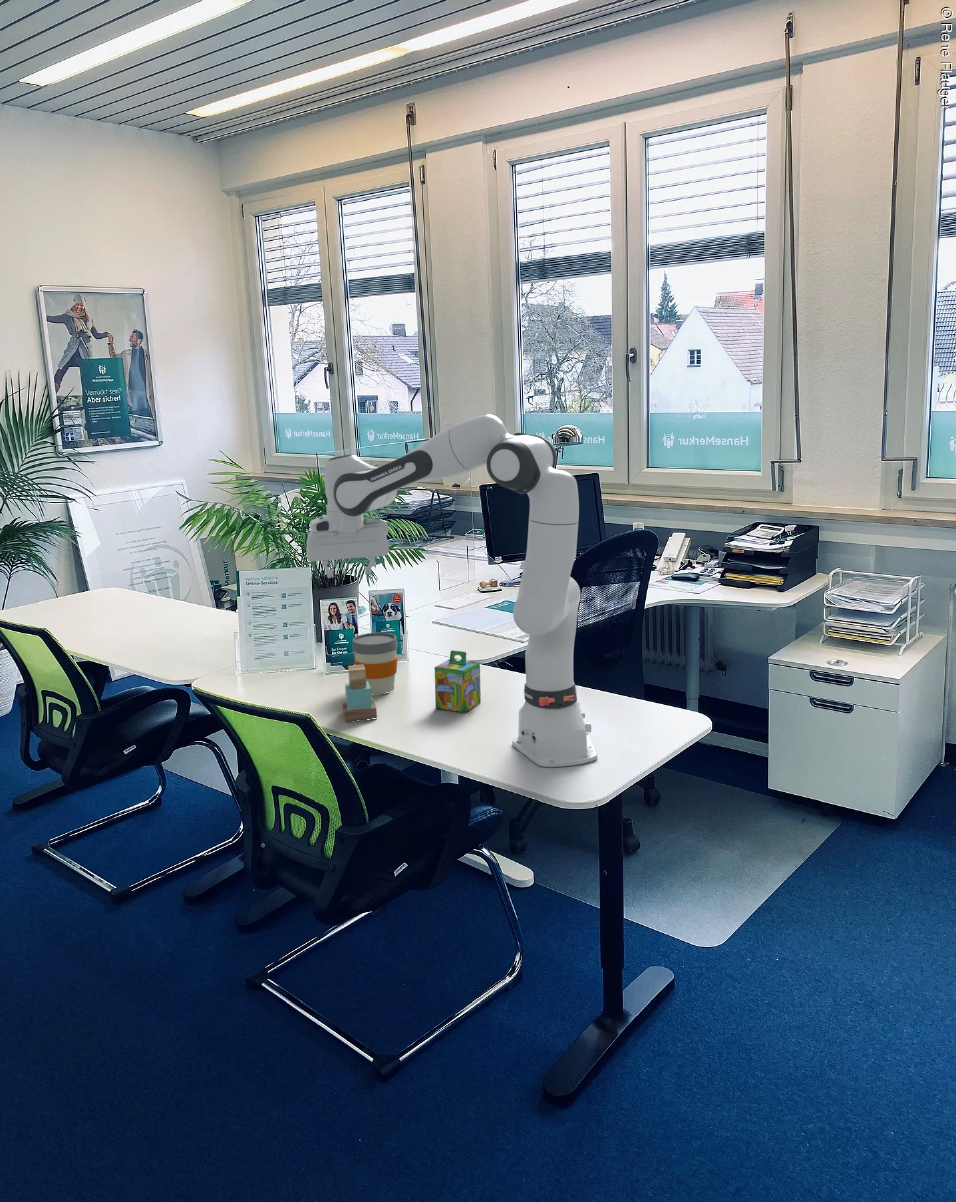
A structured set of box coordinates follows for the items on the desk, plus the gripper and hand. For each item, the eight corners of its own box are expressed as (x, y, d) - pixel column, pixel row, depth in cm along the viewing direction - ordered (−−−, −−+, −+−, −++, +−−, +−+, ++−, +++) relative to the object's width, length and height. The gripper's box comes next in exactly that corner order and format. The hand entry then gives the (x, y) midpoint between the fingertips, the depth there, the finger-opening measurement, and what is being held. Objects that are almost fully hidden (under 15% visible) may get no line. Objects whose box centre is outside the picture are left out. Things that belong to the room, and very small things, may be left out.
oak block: (366, 687, 245) (365, 668, 244) (350, 689, 244) (349, 670, 243) (364, 682, 249) (363, 664, 248) (349, 684, 248) (348, 666, 247)
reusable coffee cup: (406, 693, 265) (403, 640, 261) (362, 700, 260) (358, 647, 257) (393, 680, 276) (389, 630, 272) (350, 687, 272) (346, 636, 268)
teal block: (371, 706, 246) (370, 688, 244) (348, 709, 244) (347, 690, 243) (369, 699, 251) (368, 681, 250) (346, 701, 250) (345, 683, 249)
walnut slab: (377, 719, 246) (376, 707, 245) (345, 722, 244) (344, 711, 243) (373, 708, 253) (372, 697, 252) (343, 712, 252) (342, 701, 251)
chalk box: (434, 709, 251) (432, 655, 248) (452, 698, 259) (449, 645, 255) (465, 714, 247) (463, 658, 243) (482, 702, 255) (480, 649, 251)
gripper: (385, 516, 242) (389, 570, 245) (303, 522, 238) (308, 576, 241) (389, 519, 236) (392, 574, 239) (304, 525, 232) (309, 581, 235)
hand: (349, 575), depth 240 cm, fingers open, 8 cm apart
